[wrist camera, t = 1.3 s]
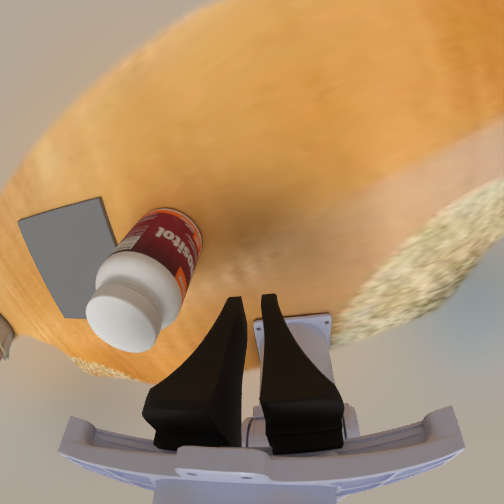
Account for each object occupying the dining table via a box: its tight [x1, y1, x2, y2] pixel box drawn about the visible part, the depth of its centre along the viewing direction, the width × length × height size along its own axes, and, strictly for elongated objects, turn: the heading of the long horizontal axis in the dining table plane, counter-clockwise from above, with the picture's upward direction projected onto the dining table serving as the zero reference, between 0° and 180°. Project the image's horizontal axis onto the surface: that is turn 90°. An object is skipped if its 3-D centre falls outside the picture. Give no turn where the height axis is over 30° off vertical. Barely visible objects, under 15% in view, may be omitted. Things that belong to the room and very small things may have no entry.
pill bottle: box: [86, 208, 202, 353], centre depth 20 cm, size 6×6×11 cm
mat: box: [17, 197, 118, 319], centre depth 26 cm, size 14×13×1 cm
